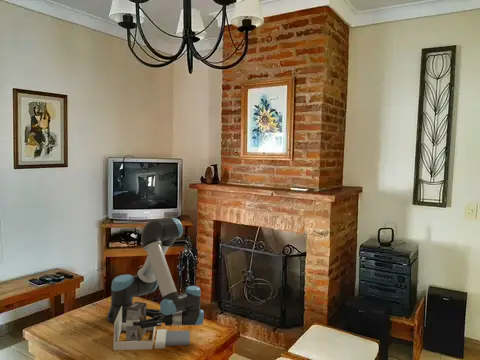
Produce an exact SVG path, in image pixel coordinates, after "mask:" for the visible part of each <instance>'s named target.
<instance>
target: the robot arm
mask: <svg viewBox="0 0 480 360" xmlns="http://www.w3.org/2000/svg"><path fill="white" fill-rule="evenodd" d="M183 233H184V229H183V224H182V221H180V219H178V218H177V217H167V218H162V219H161V218H159V219H152V220H149V221H148V222H147V223H146V224H145V225H144V226H143V228H142V231H141V237H140V238H141V239H140V240H141V245H142V248H143V250H144V251H146V253H147V256H146V259H145V262H144V264H143V266H142V267H141V268H139V270H138V271H137V273H136V275H131V274H127V273H126V274H120V275H118V276H115V277H114V278H113V279H112V281H111V287H110V289H111V290H110V291H111V297H110V307H109V310H108V312H107V316H106V319H107V321H108V322H109V323H111V324H114V323H115V320H116V318H117V316H118V313H119V311H120V308H121V306H122V323H126V326H140V327H141V328H148V327H155V326H156V327H162V324H163V323H164V326H167V327H168V326H171V327H172V326H178V327H179V326H201V325H203V324H204V318H205V317H204V313H205V311H204V309H201V296H202V295H201V293H202V291H201V288H200V287H199V286H196V285H189V286H187V287H186V288H185V292H184V293H181V294H179V293H178V291H177V288H176V285H175V282H174V280H173V277H172V273H171V271H170V268H169V265H168V262H167V260H166V259H167V258H166V256H165V255H166V253H167V251H168V249H169V247H172V246H173V245H174V243H175V240H176V239H177V240H179V239H180V238H181V237H182V236H183ZM157 289H159V291H160V295H161V298H162V300H161V301H160V304H159V308H160V309H156V308H155V309H153V308H147V307H146V317H149V318H146V320H141V319H140V320H127V308H128V307H129V306H131V305H132V304H133V303H134V301H133V299H134V298H136V297H139V296H143V295H147V294H150V293H154V292H155V291H156V290H157Z"/></svg>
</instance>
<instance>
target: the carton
mask: <svg viewBox="0 0 480 360" xmlns="http://www.w3.org/2000/svg"><path fill="white" fill-rule="evenodd" d="M156 327H157V326H155V327H148V328H146V331H153V332H152V338H151V340H138V341H133V340H126V341H125V340H121V341H120V340H119V339H120V336H121V332H124V331H125V332H126V323H122V306H121V308H120V311H119V313H118V316H117V318H116V320H115V323H113V342H112V343H113V344H112V345H113V348H112V349H113V351H125V350H126V351H129V350H130V351H133V350H135V351H136V350H138V351H139V350H153V348H154V349H166V346H165V342H166V333H167V331H168V329H167V328H165V329H164V328H163V329H162V328H161V329H156ZM155 335H156V336H155ZM154 339H155V340H154ZM154 342H155V343H154ZM153 345H154V347H153Z"/></svg>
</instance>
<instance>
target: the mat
mask: <svg viewBox="0 0 480 360" xmlns="http://www.w3.org/2000/svg"><path fill="white" fill-rule="evenodd" d="M190 334H191V333H190V330H167V333H166V342H165V347H167V346H190V344H191V341H190V340H191V335H190Z"/></svg>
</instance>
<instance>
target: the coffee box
mask: <svg viewBox="0 0 480 360" xmlns="http://www.w3.org/2000/svg"><path fill="white" fill-rule="evenodd" d="M146 308H147V302H142V301H133V304H132V305H131V306H129V307H128V308H127V320H140V319H141V320H146V319H147V316H146ZM146 331H147V330H146V328H141V327H140V326H126V331H125V332H126V333H125V340H126V341H140V339H141V338H142V337H143V336H144V335H145V334H146Z"/></svg>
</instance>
